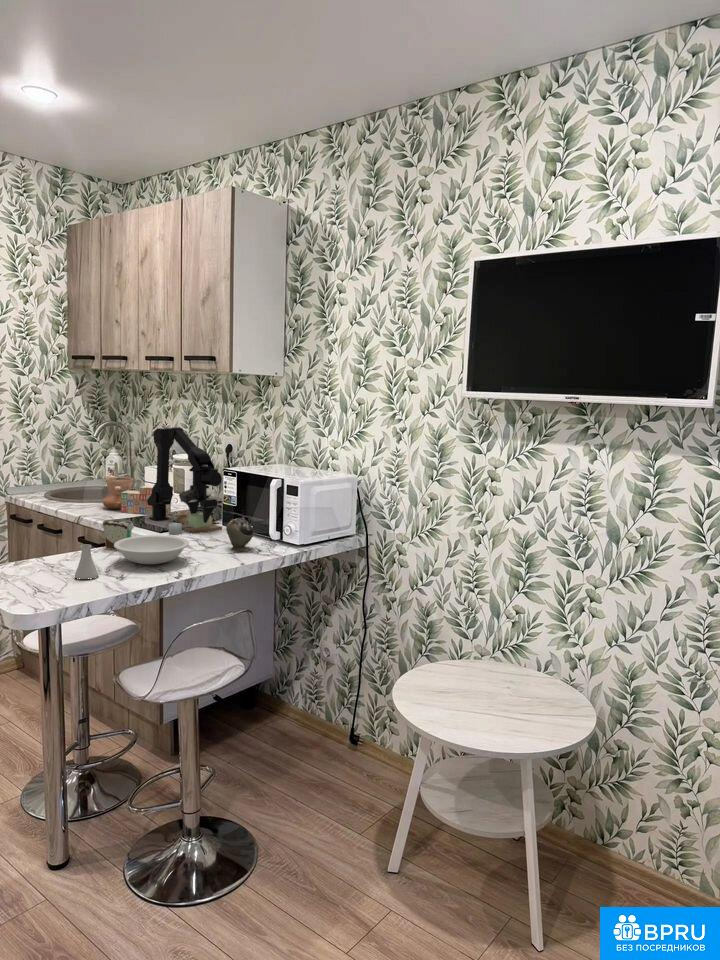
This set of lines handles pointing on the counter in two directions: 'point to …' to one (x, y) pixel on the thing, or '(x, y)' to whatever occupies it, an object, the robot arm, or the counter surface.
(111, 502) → the ceramic jug
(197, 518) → the sage green brick
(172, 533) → the grey plastic cylinder
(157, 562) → the soup bowl
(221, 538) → the counter surface
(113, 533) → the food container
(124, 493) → the stack of blocks
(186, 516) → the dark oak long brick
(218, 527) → the walnut board
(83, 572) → the flask
